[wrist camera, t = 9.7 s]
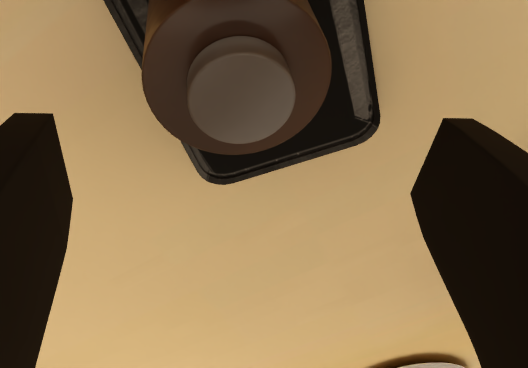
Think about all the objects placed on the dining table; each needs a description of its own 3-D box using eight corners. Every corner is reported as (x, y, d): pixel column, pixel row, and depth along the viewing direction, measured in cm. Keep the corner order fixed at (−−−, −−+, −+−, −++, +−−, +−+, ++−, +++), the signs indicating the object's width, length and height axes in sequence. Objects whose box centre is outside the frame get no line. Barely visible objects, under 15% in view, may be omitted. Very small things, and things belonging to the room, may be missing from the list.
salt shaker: (315, -39, 15) (381, 73, 10) (239, 64, 18) (264, 198, 13) (197, -131, 13) (209, -44, 8) (128, 0, 16) (104, 131, 11)
